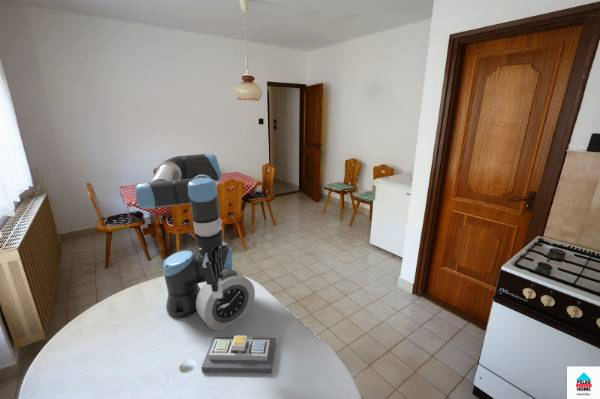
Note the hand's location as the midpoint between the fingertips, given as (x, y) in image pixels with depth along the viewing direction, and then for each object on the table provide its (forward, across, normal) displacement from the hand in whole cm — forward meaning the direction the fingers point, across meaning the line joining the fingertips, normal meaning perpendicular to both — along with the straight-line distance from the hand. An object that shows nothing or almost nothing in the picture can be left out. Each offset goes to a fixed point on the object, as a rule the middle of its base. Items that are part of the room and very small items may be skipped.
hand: (217, 296), depth 90 cm
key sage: (+19, -4, -1) cm, 19 cm away
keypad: (+21, -4, -7) cm, 22 cm away
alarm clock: (+22, +14, +3) cm, 26 cm away
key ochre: (+16, -4, -7) cm, 18 cm away
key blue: (+19, -4, -13) cm, 23 cm away
